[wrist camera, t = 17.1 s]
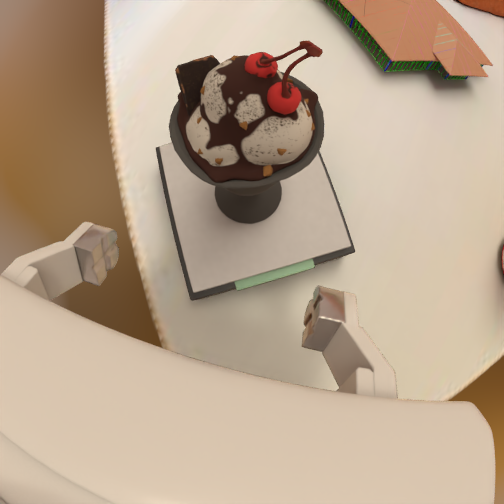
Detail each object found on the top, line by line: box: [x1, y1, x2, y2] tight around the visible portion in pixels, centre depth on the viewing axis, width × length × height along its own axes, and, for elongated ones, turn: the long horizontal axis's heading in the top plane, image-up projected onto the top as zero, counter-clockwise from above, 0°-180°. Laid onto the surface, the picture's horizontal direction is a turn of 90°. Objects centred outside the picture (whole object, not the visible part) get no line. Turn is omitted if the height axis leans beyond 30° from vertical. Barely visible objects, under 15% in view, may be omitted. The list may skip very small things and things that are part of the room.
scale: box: [156, 143, 355, 300], centre depth 23 cm, size 13×13×4 cm
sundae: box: [169, 41, 324, 224], centre depth 14 cm, size 7×7×15 cm
